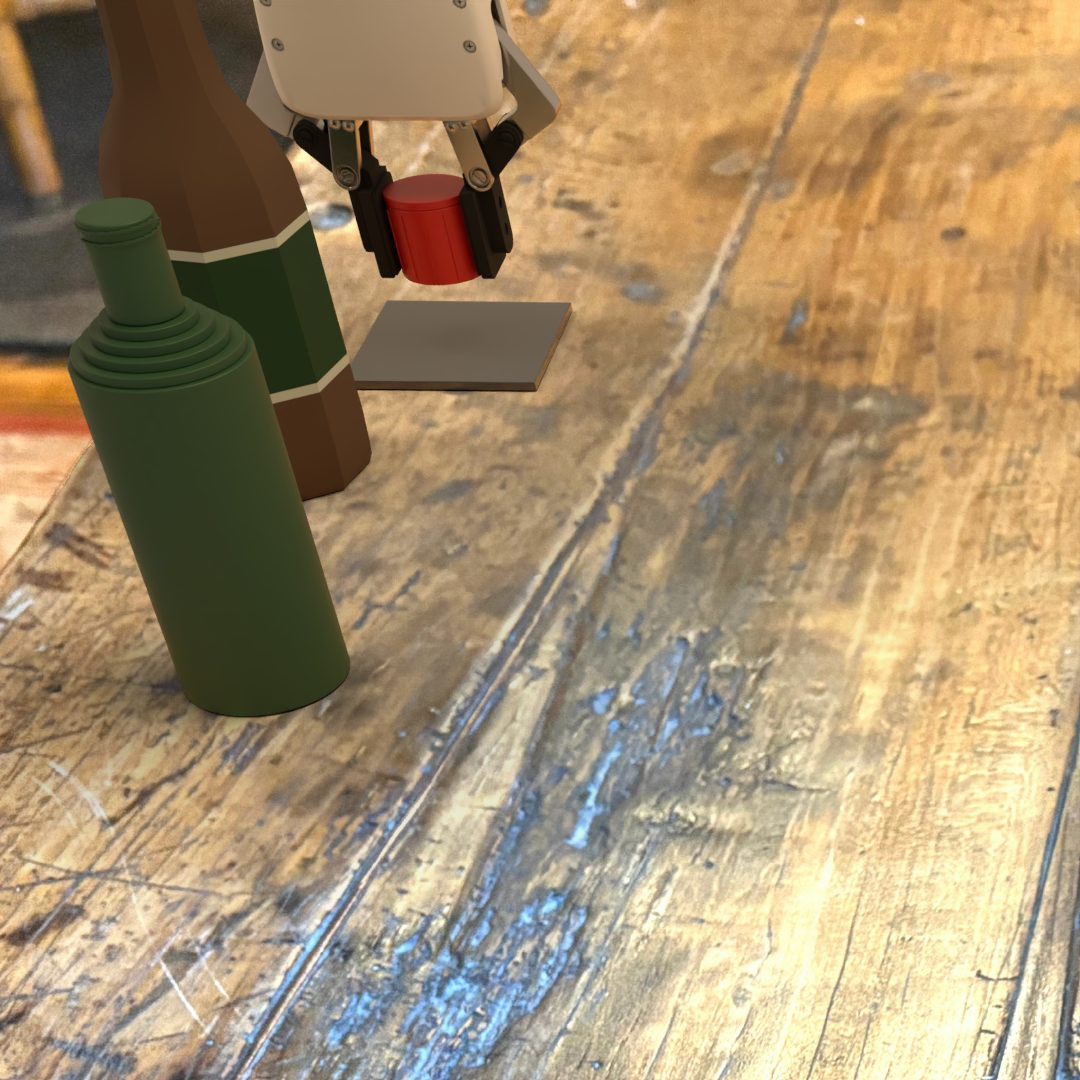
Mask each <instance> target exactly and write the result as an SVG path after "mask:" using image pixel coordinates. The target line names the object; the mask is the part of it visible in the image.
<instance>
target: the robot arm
mask: <svg viewBox="0 0 1080 1080" xmlns="http://www.w3.org/2000/svg"><path fill="white" fill-rule="evenodd" d="M252 1H253V7H254V10H255V16H256V21H257V25H258V29H259V35H260V38H261V43H262V46H263V49H262V52H261V56H260V59H259V62H258V65H257V68H256V71H255V74H254V77H253V79H252V83H251V86H250V90H249V92H248V96H247V99H246V101H245V104H246V105H247V106H248V107H249V108H250V109H251V110H252V111H253V112H254V113H255V114H256V115H257V116H258V117H259V118H260V119H261V120H262V122H263V123H264V124H265V125H266V126H267V127H268V129H271V130H273V131H274V132H276V133H278V134H280V135H281V136H283V137H285V138H290V139H291V140H293V141H294V142H295V144H296V145H297V146H298V147H299V148H300V149H301V150H303V151H304V152H305V153H306V154H308V155H309V156H310V157H312V158H313V159H314V160H315V161H316V162H318V163H319V165H321V166H323V167H324V168H325V169H326V170H327V171H328V172H330V173H331V174H332V177H333V181H334V182H335V184H337V186H339V188H342V189H343V190H346V191H347V192H348V196H349V199H350V200H349V201H350V204H351V207H352V210H353V214H354V218H355V222H356V225H357V229H358V232H359V237H360V240H361V245H362V247H363V249H364V252H366V253H373V254H374V258H375V262H376V265H377V269H378V273H379V275H380V277H381V279H395V278H396V276H398V275H399V274H400V272H401V271H402V268H401V264H400V260H399V257H398V253H397V249H396V245H395V241H394V237H393V233H392V230H391V226H390V222H389V218H388V214H387V209H386V205H385V201H384V197H383V191H384V189H385V188H386V187H387V185H389V184H390V183H392V182H394V179H393V175H392V172H391V171H388V168H387V164H386V165H383V164H380V160H379V159H378V158H377V157H376V154H375V144H374V131H373V121H375V122H376V121H377V122H378V121H379V122H380V121H381V122H442V124H443V127H444V129H445V132H446V135H447V136H448V139H449V142H450V144H451V146H452V149H453V151H454V154H455V156H456V159H457V160H458V163H459V165H460V168H461V170H462V173H461V175H462V178H463V180H464V186H463V187H462V189H461V191H460V193H459V201H460V205H461V209H462V213H463V217H464V222H465V226H466V230H467V234H468V238H469V242H470V246H471V250H472V254H473V259H474V263H475V267H476V271H477V274H478V276H479V277H481V278H482V279H483V280H495V279H496V278H497V276H498V273H499V272H500V270H501V268H502V265H503V264H504V261H505V259H506V257H507V254H510V253H511V252H512V251H513V249H514V234H513V228H512V224H511V220H510V215H509V212H508V211H509V210H508V207H507V203H506V199H505V195H504V190H503V185H502V181H501V176H500V175H501V174H502V172H503V171H504V170H505V168H506V167H507V165H508V164H509V163H510V162H511V160H512V159H513V157H514V156H515V155H516V153H517V152H518V151H519V150H520V147H522V146H523V145H524V144H525V143H527V142H528V141H529V140H532V139H533V138H535V137H536V136H537V135H539V134H540V133H541V132H542V131H543V130H545V129H546V128H547V127H549V126H550V125H551V124H553V123H554V122H555V120H556V119H557V117H558V115H559V113H560V112H561V110H562V105H563V104H562V99H561V98H560V96H559V94H558V93H556V91H555V90H554V89H553V87H552V86H551V85H550V84H549V82H548V81H547V80H546V79H545V78H544V76H543V75H542V74H541V73H540V71H538V69H537V68H536V67H535V66H534V64H533V63H532V62H531V60H529V58H528V57H527V55H525V53H524V52H523V51H522V50H521V48H520V47H519V46H518V42H517V38H516V37H517V36H516V34H515V29H514V26H513V21H512V17H511V14H510V9H509V7H508V3H507V0H252ZM504 88H506V89H507V90H508V91H509V92H510V94H511V95H512V96H513V98H514V99H515V101H516V105H515V107H514V108H512V109H511V110H510V111H508V112H505V113H504V114H503V115H502V116H501V117H500V119H499V120H498V121H497V123H496V124H495V126H494V125H493V122H492V120H491V117H492V116H494V115H495V114H497V113H498V112H499V111H500V110H501V109H502V108H503V105H504V97H505V96H504Z"/></svg>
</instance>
